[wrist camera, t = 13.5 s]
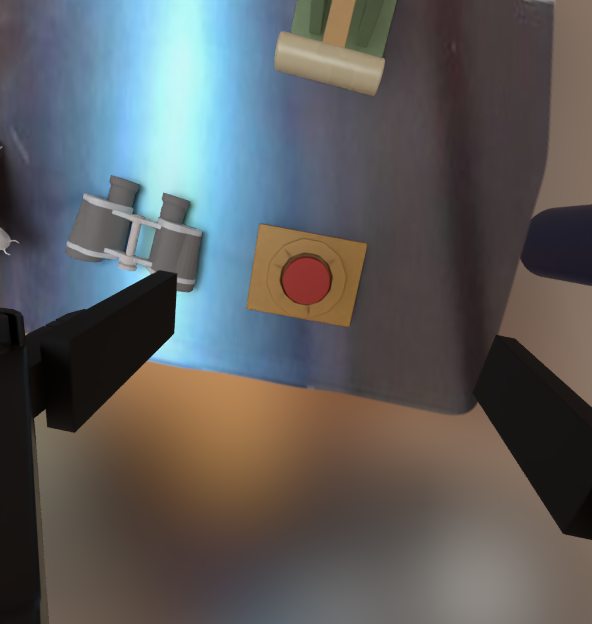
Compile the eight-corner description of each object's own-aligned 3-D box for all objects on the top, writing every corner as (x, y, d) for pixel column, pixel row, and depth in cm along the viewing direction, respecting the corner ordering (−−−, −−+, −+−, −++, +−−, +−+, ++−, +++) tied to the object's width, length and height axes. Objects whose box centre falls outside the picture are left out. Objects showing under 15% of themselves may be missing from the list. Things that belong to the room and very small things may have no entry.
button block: (363, 243, 36) (371, 244, 32) (346, 321, 37) (351, 332, 33) (261, 223, 35) (257, 223, 31) (248, 304, 37) (243, 313, 33)
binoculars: (77, 251, 36) (54, 253, 32) (93, 168, 34) (70, 162, 31) (196, 289, 37) (185, 295, 33) (217, 210, 35) (209, 208, 32)
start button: (332, 260, 32) (334, 262, 31) (323, 304, 33) (325, 308, 32) (287, 252, 32) (287, 253, 31) (280, 296, 33) (279, 300, 31)
